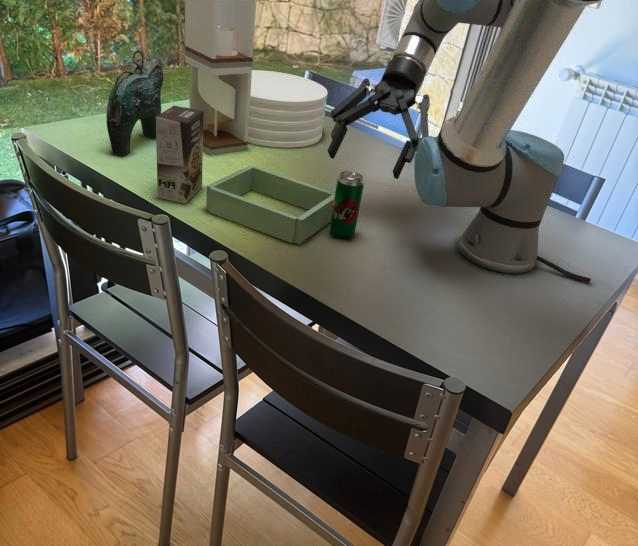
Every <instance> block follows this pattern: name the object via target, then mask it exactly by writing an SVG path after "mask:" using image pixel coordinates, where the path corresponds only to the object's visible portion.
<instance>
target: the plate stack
mask: <svg viewBox="0 0 638 546" xmlns="http://www.w3.org/2000/svg"><path fill="white" fill-rule="evenodd" d="M328 93H329V92H328V90H327V88H326V87H325V86H324V85H322V84H320V83H319V82H317V81H314V80H312V79H309V78H306V77H302V76H299V75H295V74H291V73H285V72H280V71H272V70H262V69H261V70H260V69H252V78H251V94H250V110H249V126H248V143H249V144H251V145H257V146H263V147H270V148H281V149H293V148H303V147H309V146H313V145H315V144H316V143H318V142H320V141H321V140H322V136H323V129H324V125H325V122H324V120H325V115H326V108H327V99H328ZM248 143H247V144H248Z"/></svg>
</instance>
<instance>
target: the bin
mask: <svg viewBox="0 0 638 546" xmlns="http://www.w3.org/2000/svg"><path fill="white" fill-rule="evenodd" d="M250 191H252V192H253V191H254V192H256V193H260V194H261V195H264V196H268V197H271V198H273V199H276V200H279V201H281V202H285V203H286V204H287V203H288V204H290V205H292V206H296V207H299V208H301V209H304V210H307V211H305V212H304V213H302V214H301V215H299V216H297V215H293V214H290V213H288V212H285V211H282V210H279V209H277V208H274V207H271V206H268V205H265V204H262V203H260V202H258V201H254V200H252V199H249V198H247V197H243V195H245V194H246V193H248V192H250ZM205 195H206V197H205V198H206V200H205V201H206V202H205V209H206V210H207V211H208V213H210V214H213V215H215V216H218V217H220V218H223V219H226V220H229V221H232V222H234V223H236V224H239V225H242V226H245V227H246V228H247V227H248V228H250V229H253V230H255V231H258V232H261V233H263V234H266V235H268V236H272V237H274V238H276V239H279V240H282V241H283V242H284V241H285V242H287V243H290V244H294V243H295V244H297V245H300V244H302V243H303V242H305V241H306V240H307V239H308V238H311V237H312V236H313V235H314V234H316V233H317V232H318V231H320V230H321V229H322V228H324V227H325V226H327V225H328V224H329V223H331V217H332V211H333V204H334V198H335V192H333V191H330V190H327V189H325V188H321V187H320V186H319V187H318V186H316V185H313V184H311V183H307V182H304V181H301V180H298V179H295V178H292V177H289V176H287V175H284V174H281V173H277V172H275V171H271V170H268V169H265V168H263V167H260V166H253V165H248V166H246V167H243V168H241V169H239V170H237V171H234V172H233V173H231V174H229V175H226V176H224V177H222V178H221V179H220V178H219V179H218V180H215V181H213V182H212V183H210V184H207V185H206V194H205Z"/></svg>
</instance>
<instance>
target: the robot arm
mask: <svg viewBox="0 0 638 546" xmlns="http://www.w3.org/2000/svg"><path fill="white" fill-rule="evenodd" d="M602 1H603V0H418V1H417V3H416V4H415V5H414V7H413V11H412V13H411V15H410V17H409V19H408V22H407V23H406V26H405V29H404V31H403V33H402V35H401V37H400V39H399V41H398V42H397V45H396V47H395V49H394V51H393V53H392V55H391V58H390V60H389V61H388V64H387V66H386V68H385V70H384V72H383V74H382V77H381V80H380V81H379V82H378V83H372V82H370V79H369V78H367V77H366V78H364V79H363V80H362V81H361V83H360V85H359V86H358V87H357V88H356V89H355V90H354V91H352V92H351V93H350V94H349V95H348V96H346V98H344V99H343V100H342V101H341V102H340V103H338V105H336V106H335V107H334V108H333V109H332V110H331V111H330V116H331V118H332V121H333V122H334V123H335V124H334V125H333V126H334V127H333V128H332V130H331V132H330V137H331V139H332V140H331V142H330V144H329V146H328V148H327V149H326V150H327V153H328V155H329V158H330V159H335V157H336V156H337V153H338V151H339V149H340V148H341V146H342V143H343V141H344V139H345V136H346V135H347V132H348V126H349V125H351V124H353V123H354V122H356V121H358V120H360V119H362V118H364V117H365V116H368V115H369V114H371V113H376V112H377V111H379V110H380V111H381V112H382V113H389V114H391V115H392V116H393V115H394V116H397V115H401V118H402V121H403V123H404V126H405V129H406V132H407V135H408V138H409V139H408V140H406V141H405V143H404V145H403V147H402V150H401V151H400V154H399V156H398V158H397V160H396V163H395V164H394V167H393V169H392V175H393V178H394V179H396V180H398V179H399V178H400V176H401V173H402V172H403V169H404V167H405V165H406V163H408V164H410V163H412V161H413V159H414V163H413V164H414V167H413V171H414V172H413V175H414V176H413V177H414V185H415V188H416V192H417V195H418V197H419V199H420V200H421V201H422V202H423V203H424V204H426V205H428V206H433V207H441V208H445V207H446V208H449V207H450V208H479V210H478V212H477V213H476V214H475V216H474V218H473V219H472V220H471V221H470V223H469V225H468V226H467V227H466V229H465V230H464V231H463V233H462V234H461V237H460V240H459V244H458V249H459V251H460V253H461V254H462V255H463V257H465V258H466V259H467V260H468V261H470V262H472V263H474V264H475V265H477V266H479V267H481V268H484V269H487V270H489V271H493V272H496V273H497V272H498V273H503V274H513V275H515V274H523V273H527V272H529V271H531V270H533V268H534V267H535V265H536V262H537V261H538V262H540V263H542V264H543V265H545V266H548V267H550V268H551V269H553V270H554V271H556V272H558V273H560V274H562V275H564V276H565V277H569V278H571V279H574V280H578V281H580V282H581V281H582V282H585V283H588V284H589V283H590V282H591V280H592V279H591V278H590V277H586V276H583V275H580V274H576V273H572V272H570V271H568V270H565V269H564V268H562V267H560V266H559V265H556V264H555V263H554V262H552V261H549V260H547V259H545V258H544V257H542V256H539V231H540V225H541V223H542V221H543V218H544V216H545V213H546V210H547V208H548V205H549V202H550V200H551V198H552V195H553V192H554V190H555V187H556V184H557V182H558V180H559V178H560V177H561V172H562V169H563V165H564V162H565V154H564V152H563V151H562V149H561V148H560V147H559V146H557V145H555V144H554V143H552V142H550V141H548V140H547V139H544V138H542V137H540V136H537V135H534V134H532V133H529V132H524V131H521V130H515V129H512V128H513V126H514V125H515V123H516V122H517V120H518V118H519V117H520V115H521V113H522V112H523V110H524V108H525V107H526V105H527V104H528V102H529V100H530V98H531V97H532V96H533V94H534V92H535V90H536V89H537V87H538V86H539V84H540V82H541V81H542V79H543V77H544V76H545V74H546V73H547V71H548V69H549V67H550V66H551V64H552V63H553V61H554V60H555V58H556V56H557V55H558V53H559V51H560V49H561V48H562V46H563V45H564V43H565V41H566V39H568V36H570V34H571V31H572V30H573V28H574V26H575V25H576V23H578V20H579V18H580V17H581V15H582V13H583V12H584V10H585V8H586V7H588V6H591V5H594V4H595V5H596V4H598V3H600V2H602ZM458 24H466V25H475V26H483V27H484V26H485V27H493V28H500V31H499V33H498V35H497V37H496V40H495V41H494V43H493V45H492V47H491V49H490V51H489V53H488V54H487V57H486V59H485V61H484V62H483V65H482V66H481V68H480V70H479V73H478V74H477V76H476V79H475V80H474V83H473V84H472V87H471V88H470V90H469V92H468V94H467V97H466V99H465V101H464V102H463V105H462V107H461V108H460V111H459V113H458V115H455V116H452V117H450V118H448V119H446V120H445V121H444V123H443V125H442V126H441V128H440V130H439V132H438V135H437V136H433V135H430V134H429V133H430V132H429V131H430V130H429V119H428V118H429V117H428V112H429V109H430V106H431V101H430V95H429V94H427V93H425V94H423V95H422V96H420V95H418V93H419V92H420V89H421V88H422V85H423V83H424V81H425V77H426V76H427V74H428V72H429V70H430V67H431V65H432V63H433V62H434V59H435V58H436V54H437V52H438V50H439V48H440V46H441V44H442V42H443V41H444V39H445V37H446V36H447V35H448V34H449V33H450V32H451V31H452V30H453V29H454V28H455V27H456V26H457V25H458ZM372 93H373V94H372ZM371 94H372V95H371ZM367 97H368V98H367ZM366 98H367V99H366ZM365 99H366V100H365ZM364 100H365V101H364ZM415 104H416V105H417V109H418V110H419V113H420V130H421V137H419V136H418V134H417V131H416V128H415V126H414V122H413V119H412V117H411V113H410V112H409V109H410V108H411V107H413V106H414V105H415Z"/></svg>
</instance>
